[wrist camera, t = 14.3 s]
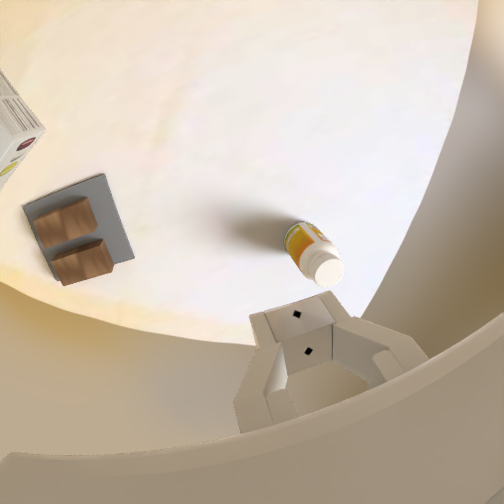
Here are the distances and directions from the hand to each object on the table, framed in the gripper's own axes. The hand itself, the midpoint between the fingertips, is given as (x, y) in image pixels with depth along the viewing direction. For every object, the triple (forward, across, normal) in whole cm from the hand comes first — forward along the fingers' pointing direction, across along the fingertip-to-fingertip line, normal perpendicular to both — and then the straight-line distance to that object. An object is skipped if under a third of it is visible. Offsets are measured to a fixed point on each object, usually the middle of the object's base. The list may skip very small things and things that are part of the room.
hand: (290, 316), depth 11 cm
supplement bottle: (+29, -10, +14) cm, 34 cm away
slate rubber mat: (+29, +19, +4) cm, 35 cm away
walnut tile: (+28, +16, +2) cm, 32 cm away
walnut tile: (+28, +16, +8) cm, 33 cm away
